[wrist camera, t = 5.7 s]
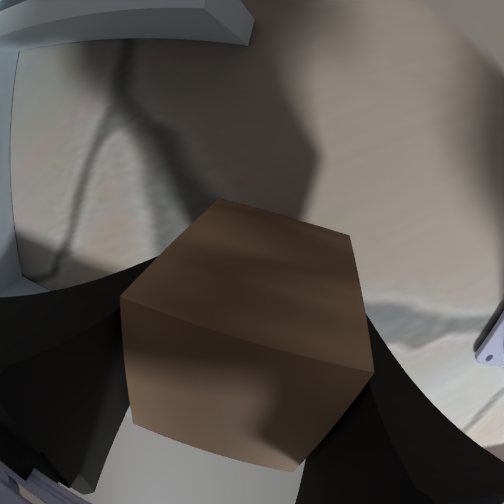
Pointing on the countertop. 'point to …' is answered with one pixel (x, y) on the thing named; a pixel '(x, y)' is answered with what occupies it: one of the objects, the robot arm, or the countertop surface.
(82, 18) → the u-shaped bracket
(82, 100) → the countertop surface
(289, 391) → the block
